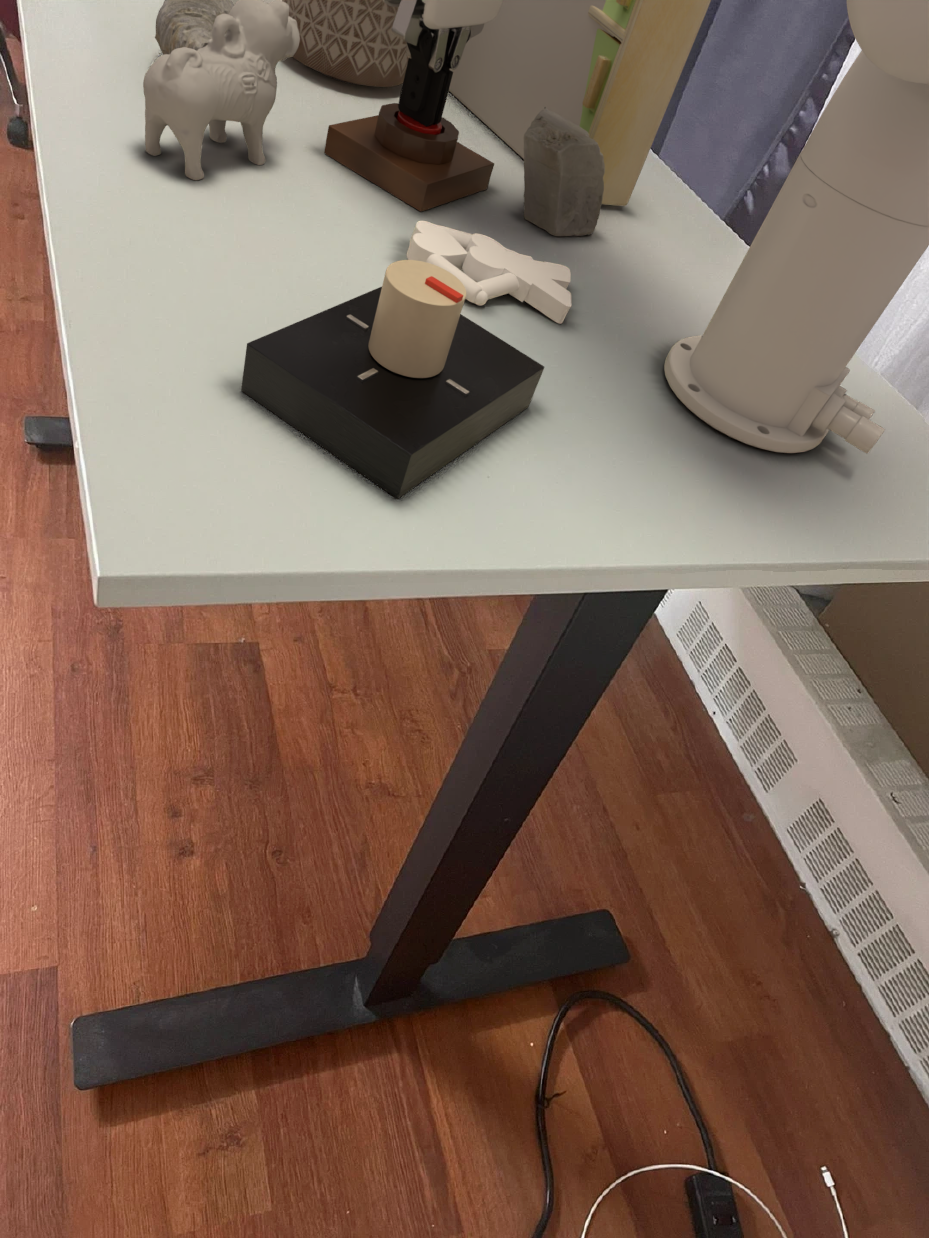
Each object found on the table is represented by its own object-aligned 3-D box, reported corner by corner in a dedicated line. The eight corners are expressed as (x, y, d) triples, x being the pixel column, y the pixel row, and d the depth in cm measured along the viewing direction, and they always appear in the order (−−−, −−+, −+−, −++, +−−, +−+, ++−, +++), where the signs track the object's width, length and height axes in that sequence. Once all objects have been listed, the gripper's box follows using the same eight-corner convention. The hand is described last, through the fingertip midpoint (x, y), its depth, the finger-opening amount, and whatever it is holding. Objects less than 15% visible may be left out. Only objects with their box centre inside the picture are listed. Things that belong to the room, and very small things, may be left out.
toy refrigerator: (521, 158, 84) (612, -119, 69) (585, 166, 87) (684, -96, 72) (561, 202, 79) (667, -83, 65) (626, 208, 83) (740, -61, 68)
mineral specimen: (515, 178, 79) (565, 91, 73) (588, 243, 79) (643, 161, 73) (475, 192, 74) (525, 100, 68) (553, 262, 74) (610, 176, 68)
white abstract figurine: (414, 222, 68) (424, 195, 66) (557, 285, 71) (569, 261, 69) (400, 276, 62) (411, 248, 60) (558, 343, 64) (571, 317, 63)
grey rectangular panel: (621, 195, 85) (710, -24, 73) (559, 193, 81) (643, -39, 69) (469, 64, 99) (523, -140, 86) (410, 56, 95) (457, -159, 82)
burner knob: (352, 347, 50) (370, 266, 46) (398, 324, 53) (418, 247, 49) (415, 388, 49) (438, 309, 45) (458, 362, 52) (483, 286, 48)
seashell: (254, 19, 80) (240, -76, 73) (236, 134, 76) (219, 45, 68) (182, 12, 80) (160, -85, 72) (159, 127, 75) (134, 37, 68)
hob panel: (391, 319, 59) (403, 275, 56) (528, 407, 56) (546, 364, 54) (240, 390, 49) (247, 340, 47) (397, 499, 47) (411, 452, 45)
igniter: (487, 189, 77) (501, 141, 75) (420, 212, 71) (433, 160, 68) (396, 136, 79) (407, 87, 77) (323, 153, 73) (332, 101, 70)
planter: (267, 29, 88) (282, -100, 81) (391, 58, 93) (415, -61, 86) (285, 81, 81) (303, -56, 73) (418, 109, 85) (448, -16, 78)
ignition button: (444, 148, 74) (450, 126, 73) (419, 155, 72) (425, 132, 70) (410, 128, 75) (415, 106, 74) (384, 134, 72) (389, 111, 71)
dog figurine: (300, 155, 71) (324, 3, 64) (186, 187, 63) (198, 14, 55) (248, 125, 72) (266, -29, 65) (128, 152, 63) (132, -22, 56)
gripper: (500, -184, 65) (433, 86, 78) (375, -208, 55) (322, 107, 68) (585, -142, 63) (503, 127, 76) (473, -159, 53) (400, 154, 66)
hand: (418, 117), depth 72 cm, fingers closed
